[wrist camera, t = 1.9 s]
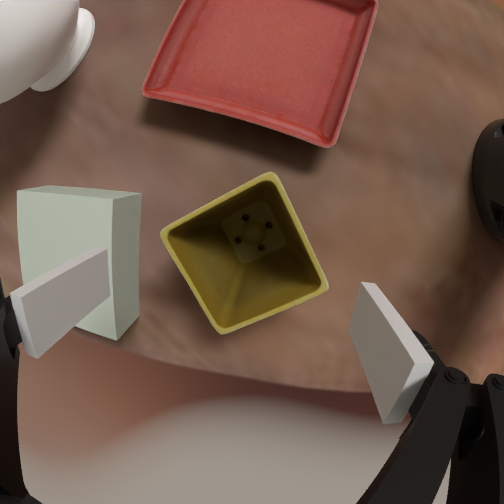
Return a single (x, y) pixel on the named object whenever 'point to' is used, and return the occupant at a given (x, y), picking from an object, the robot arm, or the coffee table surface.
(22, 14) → the decorative vase
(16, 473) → the robot arm
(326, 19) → the plant saucer
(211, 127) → the coffee table surface
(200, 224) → the flower pot
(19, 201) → the sage block
